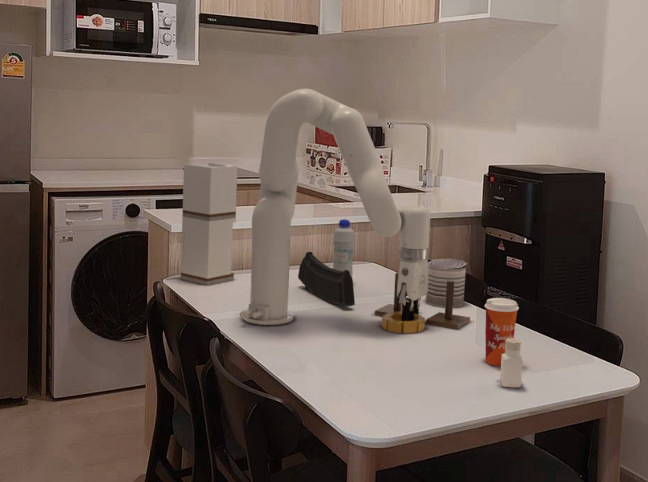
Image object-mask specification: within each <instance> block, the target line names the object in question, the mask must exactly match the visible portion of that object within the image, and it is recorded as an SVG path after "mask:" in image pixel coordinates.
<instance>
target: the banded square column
mask: <svg viewBox="0 0 648 482" xmlns="http://www.w3.org/2000/svg"><path fill="white" fill-rule="evenodd" d="M182 181H183V182H182V183H183V184H182V185H183V186H182V187H183V188H182V217H181V218H182V221H181V252H180V253H181V256H180V257H181V258H180V280H183V281H187V282H191V283H195V284H199V285H204V286H210V285H216V284H221V283H225V282H231V281H234V279H235V278H234V277H235V275H234V274H235V273H234V272H232V259H233V254H232V253H233V230H234V229H233V228H234V226H233V224H234V223H235V224H236V221H237V219H236V218H237V193H238V189H237V188H238V165H232V164H224V163H215V162H208V166H207V165H197V164H192V163H191V164H189V163H184V164H183V180H182Z"/></svg>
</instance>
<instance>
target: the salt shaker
mask: <svg viewBox="0 0 648 482" xmlns="http://www.w3.org/2000/svg"><path fill="white" fill-rule="evenodd" d="M521 345H522V341H521V340H520V339H518V338H515V337H514V338H508V339H506V341H505V353H504V354H502V358H501V366H500V373H499V380H500V383H501V386H502V387H504V388H520V387H521V386H522V378H523V377H522V376H523V375H522V374H523V361H524V359H523V356H522V355H521Z"/></svg>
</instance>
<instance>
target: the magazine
mask: <svg viewBox="0 0 648 482" xmlns="http://www.w3.org/2000/svg"><path fill="white" fill-rule="evenodd" d="M297 278H298V280H299V281H300V282H301V283H302V285H303V286H305V289H307V290H309V291H310V292H312V294H313V295H315V296H316V297H318V298H319V299H321V300H323V301H325V302H328V303H331V304H335V305H340V306H343V307H352V306H355V305H356V301H355V289H354V281H353V280H354V279H353V276H352V277H351V275H350V271H348V270H345V271H339V270H336V269H333V267H330V266H328V265H326V264H325V263H323V262H322V261H320V260H319V259H318V258H317V257H316V256H315V255H314V254H313V252H312V251H307V252H305V256H304V257H303V258H302V260H301V263H300V265H299V269H298V274H297Z"/></svg>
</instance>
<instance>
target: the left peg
mask: <svg viewBox="0 0 648 482" xmlns="http://www.w3.org/2000/svg"><path fill="white" fill-rule="evenodd" d="M398 273H399V272H395V274H394V291H393V293H394V294H393V303H389V304H386V305H384V306H382V307H379V308H378V309H376V310H374V316H379V317H382V316H383V315H385V314H387V313H392V312H402V305H401V304H399V300H400V298H398V296H397V283H398Z"/></svg>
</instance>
